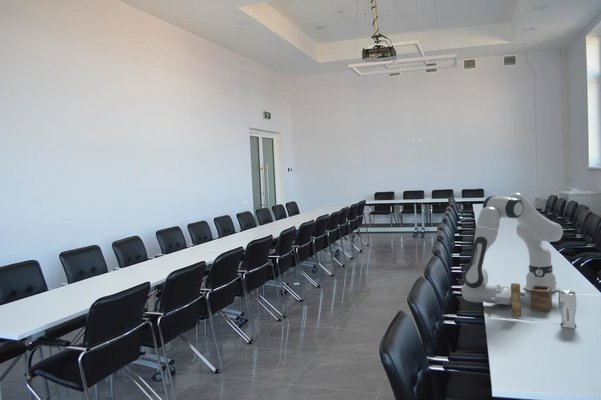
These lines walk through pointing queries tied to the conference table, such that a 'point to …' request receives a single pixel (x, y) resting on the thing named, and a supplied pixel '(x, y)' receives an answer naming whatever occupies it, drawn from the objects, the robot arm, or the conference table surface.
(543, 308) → the socket block
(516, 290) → the dowel
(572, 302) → the beer glass
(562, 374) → the conference table surface
